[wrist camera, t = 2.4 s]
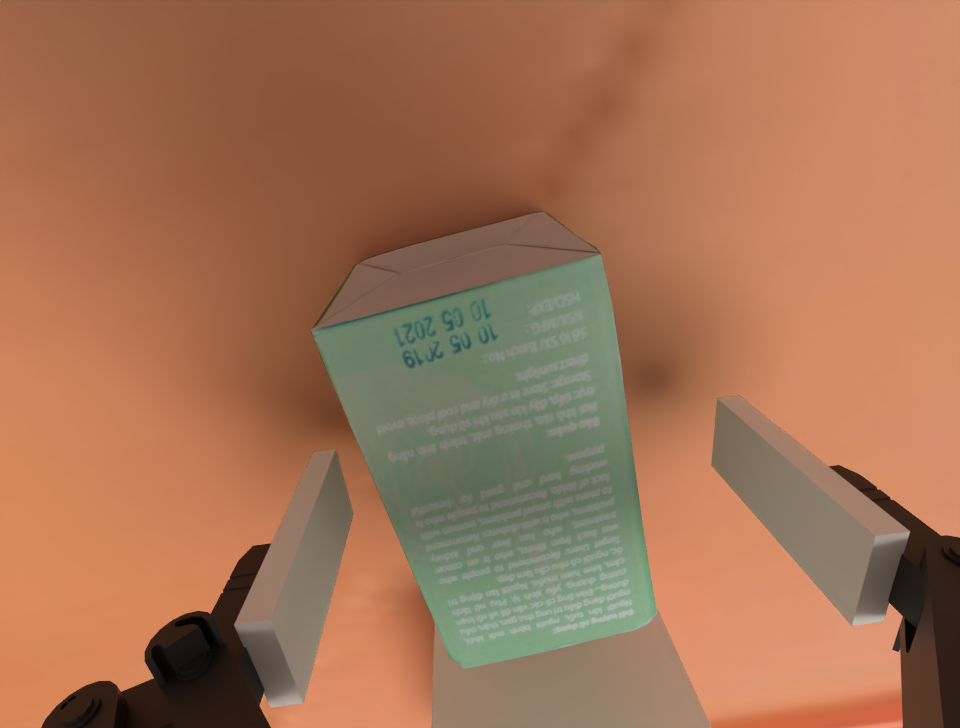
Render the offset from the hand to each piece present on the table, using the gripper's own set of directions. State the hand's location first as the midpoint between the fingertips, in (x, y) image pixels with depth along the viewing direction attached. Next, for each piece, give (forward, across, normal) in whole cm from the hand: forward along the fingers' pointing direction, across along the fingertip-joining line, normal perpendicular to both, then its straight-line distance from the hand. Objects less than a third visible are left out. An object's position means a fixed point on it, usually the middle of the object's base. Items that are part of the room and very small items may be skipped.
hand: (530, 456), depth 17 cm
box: (+4, -1, 0) cm, 5 cm away
